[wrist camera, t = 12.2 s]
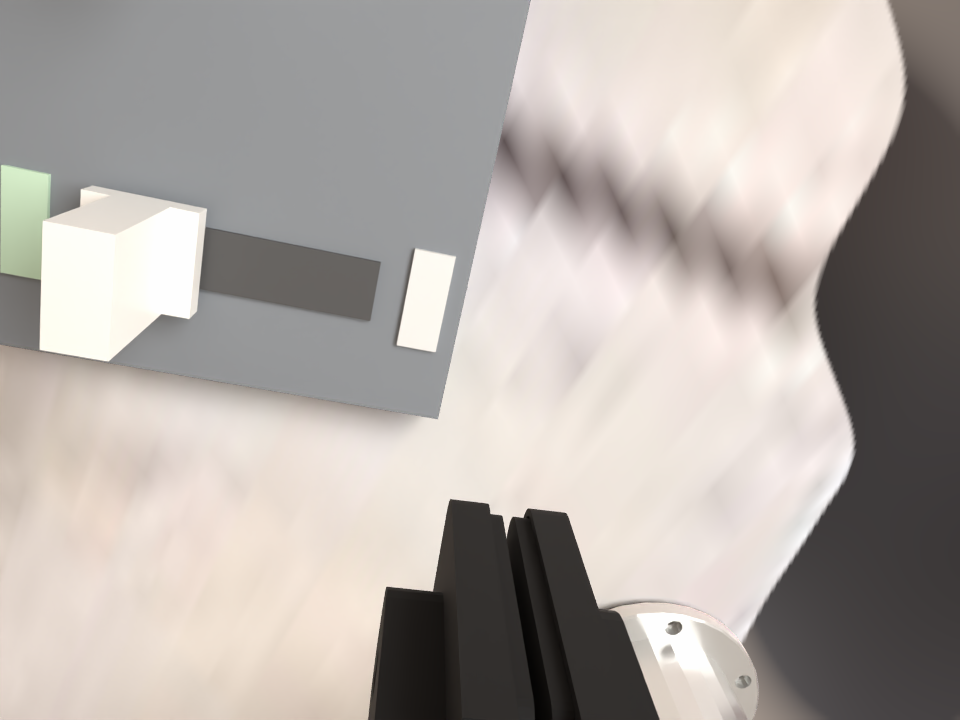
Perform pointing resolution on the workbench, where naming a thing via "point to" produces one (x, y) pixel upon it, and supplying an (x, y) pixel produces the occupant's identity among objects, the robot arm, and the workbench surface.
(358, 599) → the workbench surface
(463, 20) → the breaker panel
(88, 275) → the breaker handle
